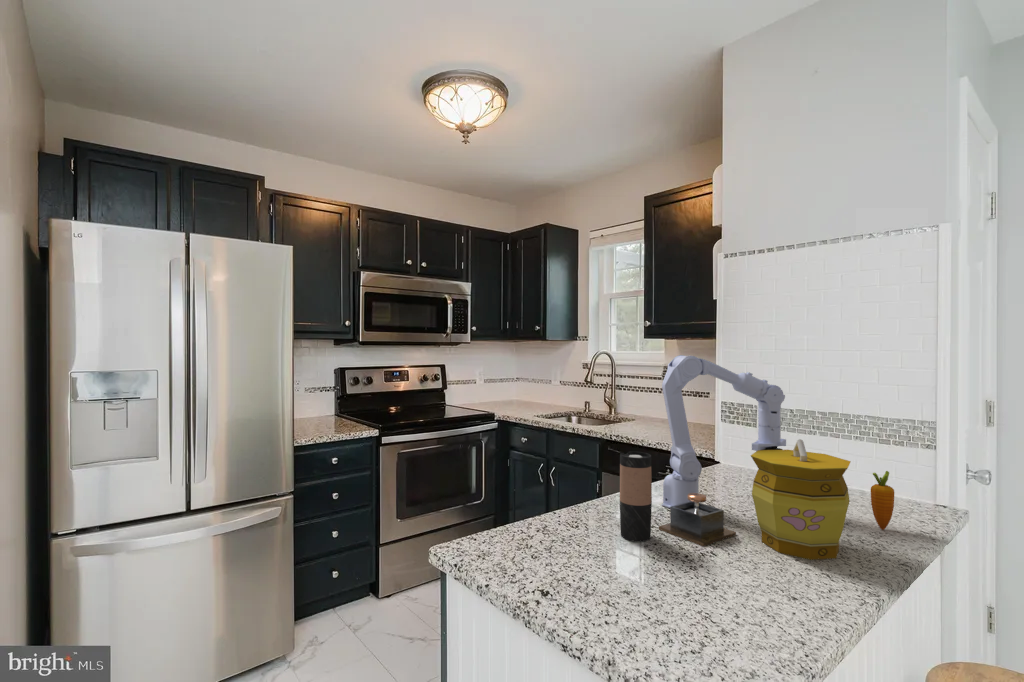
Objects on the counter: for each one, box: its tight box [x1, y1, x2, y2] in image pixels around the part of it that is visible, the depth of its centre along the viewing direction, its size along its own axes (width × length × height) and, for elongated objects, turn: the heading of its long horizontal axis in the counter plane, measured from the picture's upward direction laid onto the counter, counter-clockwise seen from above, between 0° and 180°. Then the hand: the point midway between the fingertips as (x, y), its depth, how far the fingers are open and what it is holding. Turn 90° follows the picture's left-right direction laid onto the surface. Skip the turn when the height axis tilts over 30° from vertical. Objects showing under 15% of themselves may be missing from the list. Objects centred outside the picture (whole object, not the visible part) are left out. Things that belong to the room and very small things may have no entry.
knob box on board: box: [658, 501, 737, 547], centre depth 125 cm, size 13×13×6 cm
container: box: [750, 438, 851, 561], centre depth 117 cm, size 21×21×25 cm
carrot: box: [870, 470, 895, 531], centre depth 128 cm, size 5×5×15 cm
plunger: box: [685, 493, 709, 516], centre depth 125 cm, size 7×7×5 cm
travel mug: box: [619, 451, 653, 543], centre depth 123 cm, size 8×8×20 cm
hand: (769, 473), depth 143 cm, fingers closed
